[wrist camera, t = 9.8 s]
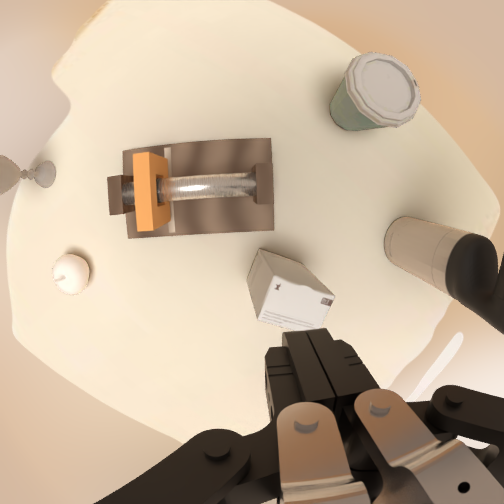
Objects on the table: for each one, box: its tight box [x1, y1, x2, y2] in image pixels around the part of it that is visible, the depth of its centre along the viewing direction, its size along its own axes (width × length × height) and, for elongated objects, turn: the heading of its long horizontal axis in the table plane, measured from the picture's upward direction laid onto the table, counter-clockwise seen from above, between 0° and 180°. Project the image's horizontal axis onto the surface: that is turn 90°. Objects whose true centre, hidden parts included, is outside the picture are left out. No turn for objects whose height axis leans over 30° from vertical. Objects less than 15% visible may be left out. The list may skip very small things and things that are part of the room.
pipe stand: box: [107, 138, 274, 239], centre depth 37 cm, size 23×14×10 cm, turn 92°
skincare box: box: [247, 249, 335, 331], centre depth 38 cm, size 8×6×15 cm
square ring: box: [133, 152, 171, 232], centre depth 34 cm, size 2×9×9 cm, turn 2°
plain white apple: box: [52, 254, 90, 295], centre depth 39 cm, size 7×7×8 cm
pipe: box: [122, 172, 257, 205], centre depth 34 cm, size 21×3×3 cm, turn 92°
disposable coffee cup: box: [330, 52, 421, 131], centre depth 33 cm, size 11×11×15 cm
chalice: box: [0, 155, 56, 195], centre depth 30 cm, size 7×7×18 cm
